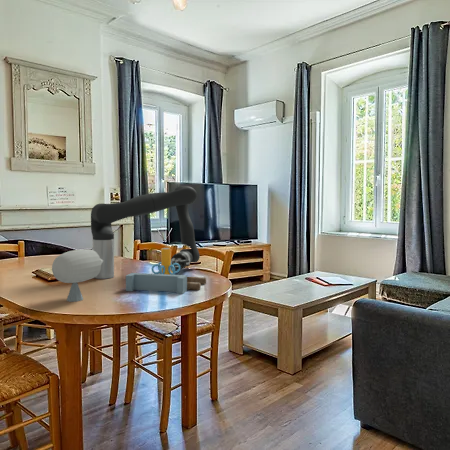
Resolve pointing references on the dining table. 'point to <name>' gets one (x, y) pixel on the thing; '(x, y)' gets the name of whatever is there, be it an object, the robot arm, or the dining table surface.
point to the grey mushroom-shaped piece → (76, 269)
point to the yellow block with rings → (166, 263)
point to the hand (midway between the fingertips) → (170, 265)
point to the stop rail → (156, 282)
